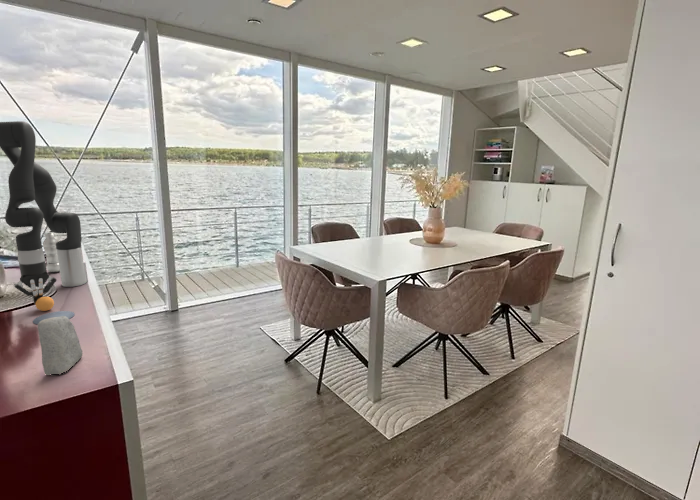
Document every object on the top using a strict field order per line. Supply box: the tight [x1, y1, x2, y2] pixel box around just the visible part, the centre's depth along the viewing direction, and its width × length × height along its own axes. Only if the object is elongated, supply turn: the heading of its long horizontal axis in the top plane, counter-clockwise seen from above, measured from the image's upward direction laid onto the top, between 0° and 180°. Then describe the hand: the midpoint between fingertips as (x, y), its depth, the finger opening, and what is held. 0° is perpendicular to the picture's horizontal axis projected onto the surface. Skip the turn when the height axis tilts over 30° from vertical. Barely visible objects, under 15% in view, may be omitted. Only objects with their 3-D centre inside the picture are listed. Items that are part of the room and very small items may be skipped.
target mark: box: [32, 310, 76, 325], centre depth 136 cm, size 12×12×1 cm
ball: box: [35, 296, 55, 312], centre depth 142 cm, size 6×6×6 cm
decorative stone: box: [37, 316, 83, 376], centre depth 103 cm, size 11×6×15 cm, turn 5°
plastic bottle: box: [42, 232, 60, 273], centre depth 188 cm, size 6×7×20 cm
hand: (39, 304), depth 143 cm, fingers closed
